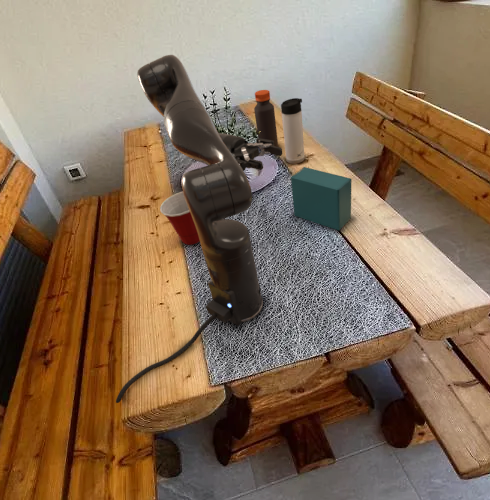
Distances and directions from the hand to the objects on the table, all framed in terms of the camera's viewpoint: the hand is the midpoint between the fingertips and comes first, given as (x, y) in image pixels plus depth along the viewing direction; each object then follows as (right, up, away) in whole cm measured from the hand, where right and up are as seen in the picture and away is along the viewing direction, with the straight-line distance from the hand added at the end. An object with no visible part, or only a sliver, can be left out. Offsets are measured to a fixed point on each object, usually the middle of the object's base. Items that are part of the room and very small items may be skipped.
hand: (272, 158), depth 104 cm
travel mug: (+9, +6, +28) cm, 30 cm away
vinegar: (0, +12, +37) cm, 39 cm away
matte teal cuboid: (+14, -16, 0) cm, 21 cm away
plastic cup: (-22, -21, +1) cm, 31 cm away
